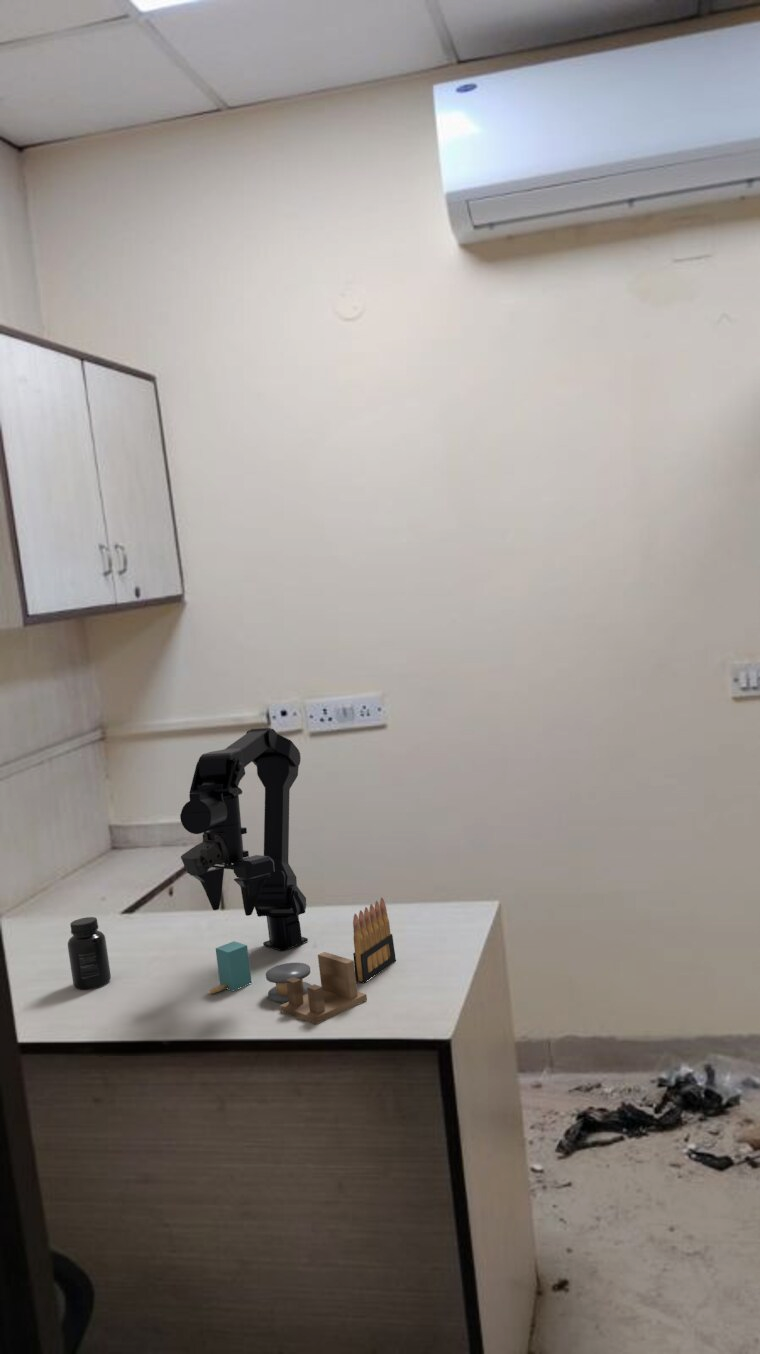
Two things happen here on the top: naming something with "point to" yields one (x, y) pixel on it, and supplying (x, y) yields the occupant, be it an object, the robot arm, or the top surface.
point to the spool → (284, 973)
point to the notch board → (325, 991)
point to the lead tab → (232, 966)
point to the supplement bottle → (88, 955)
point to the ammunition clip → (372, 942)
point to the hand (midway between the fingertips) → (232, 912)
